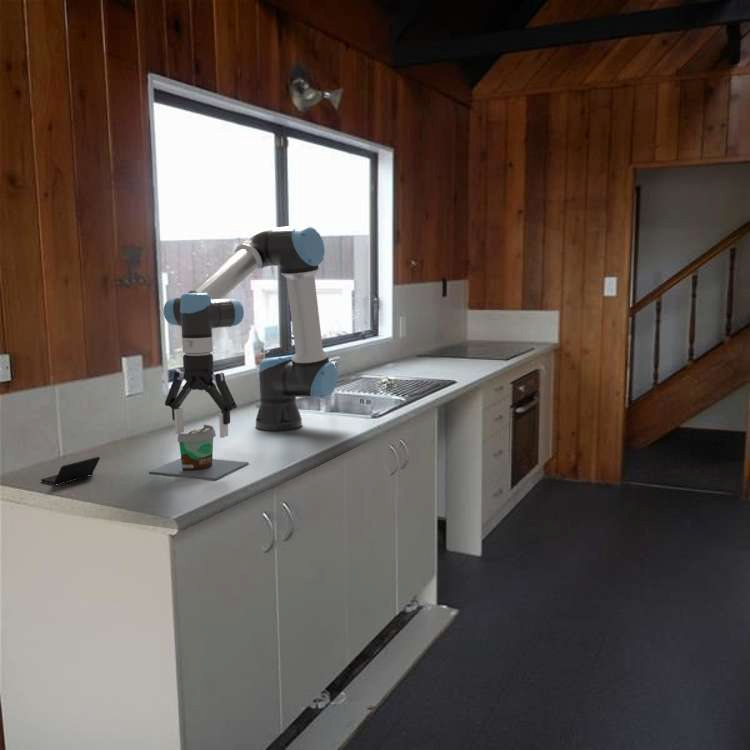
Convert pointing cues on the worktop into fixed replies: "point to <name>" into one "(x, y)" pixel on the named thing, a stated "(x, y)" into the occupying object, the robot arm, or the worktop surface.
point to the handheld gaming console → (73, 471)
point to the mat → (212, 473)
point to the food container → (197, 448)
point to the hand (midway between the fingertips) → (201, 434)
